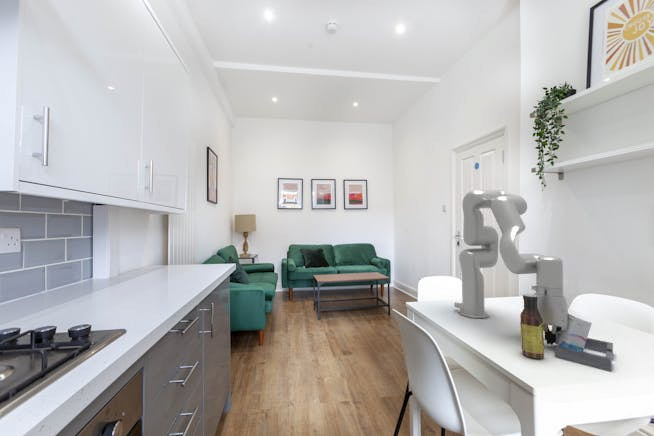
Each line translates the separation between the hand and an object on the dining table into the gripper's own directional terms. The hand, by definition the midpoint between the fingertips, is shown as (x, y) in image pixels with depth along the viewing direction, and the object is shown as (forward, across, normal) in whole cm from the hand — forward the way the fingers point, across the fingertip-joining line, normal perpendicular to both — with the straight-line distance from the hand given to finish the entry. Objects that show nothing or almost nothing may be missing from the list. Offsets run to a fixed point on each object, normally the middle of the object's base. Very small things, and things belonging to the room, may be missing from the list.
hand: (550, 343), depth 103 cm
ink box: (+1, +4, 0) cm, 5 cm away
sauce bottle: (+2, -3, -12) cm, 12 cm away
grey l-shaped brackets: (+1, +8, 0) cm, 9 cm away
